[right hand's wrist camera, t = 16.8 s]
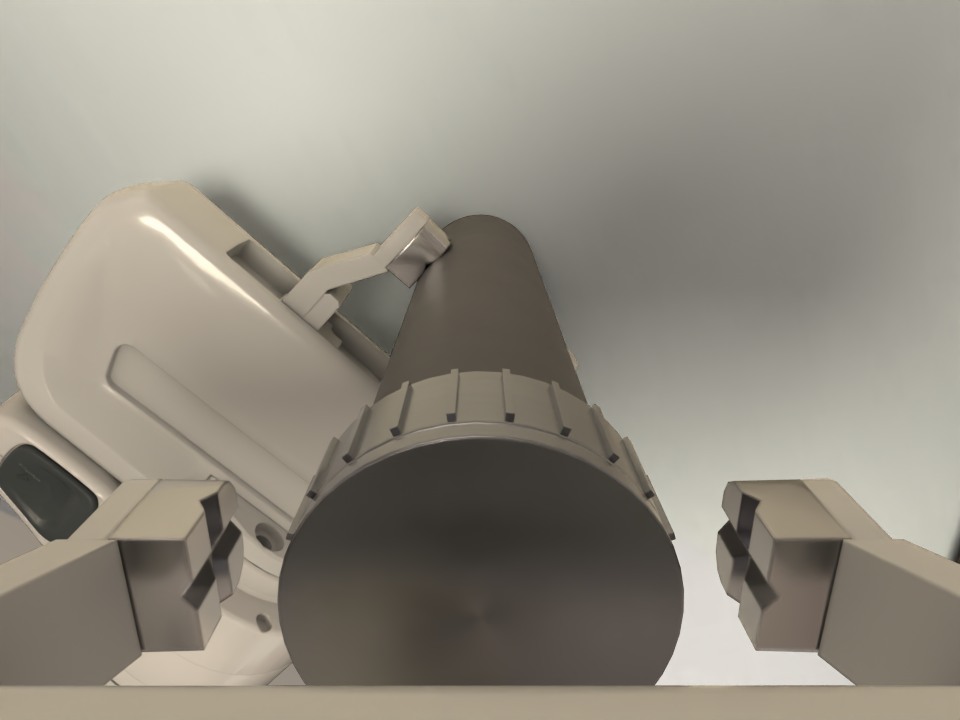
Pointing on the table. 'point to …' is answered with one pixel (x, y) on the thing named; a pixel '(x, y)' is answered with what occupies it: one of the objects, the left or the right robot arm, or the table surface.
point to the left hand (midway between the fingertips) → (498, 286)
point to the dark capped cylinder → (481, 313)
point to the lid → (480, 546)
